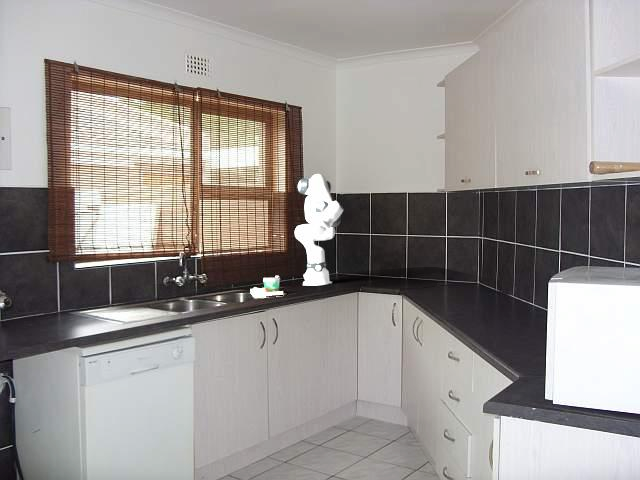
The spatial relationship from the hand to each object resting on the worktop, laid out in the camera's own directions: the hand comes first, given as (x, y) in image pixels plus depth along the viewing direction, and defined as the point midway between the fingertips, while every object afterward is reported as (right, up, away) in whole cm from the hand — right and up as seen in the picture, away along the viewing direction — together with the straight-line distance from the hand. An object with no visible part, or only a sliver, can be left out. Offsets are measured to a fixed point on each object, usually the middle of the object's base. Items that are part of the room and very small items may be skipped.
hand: (307, 241), depth 380 cm
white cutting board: (-23, -31, -5) cm, 39 cm away
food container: (-19, -31, -5) cm, 36 cm away
